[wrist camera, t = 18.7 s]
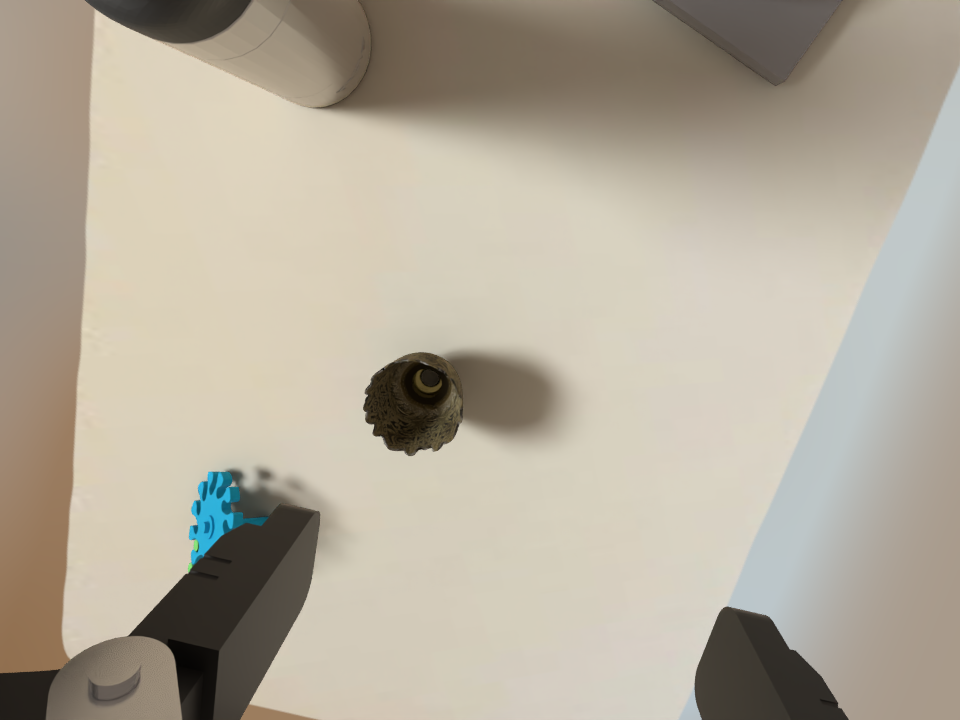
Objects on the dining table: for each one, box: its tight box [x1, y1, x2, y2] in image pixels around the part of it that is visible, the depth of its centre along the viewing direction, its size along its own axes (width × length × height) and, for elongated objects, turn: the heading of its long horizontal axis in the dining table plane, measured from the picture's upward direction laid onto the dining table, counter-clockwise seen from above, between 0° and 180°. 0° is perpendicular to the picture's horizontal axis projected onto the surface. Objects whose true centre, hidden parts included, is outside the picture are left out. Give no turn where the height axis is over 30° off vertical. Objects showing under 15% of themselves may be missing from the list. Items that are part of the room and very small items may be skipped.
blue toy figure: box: [188, 472, 268, 572], centre depth 51 cm, size 11×6×10 cm
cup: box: [363, 352, 463, 456], centre depth 44 cm, size 8×7×8 cm
